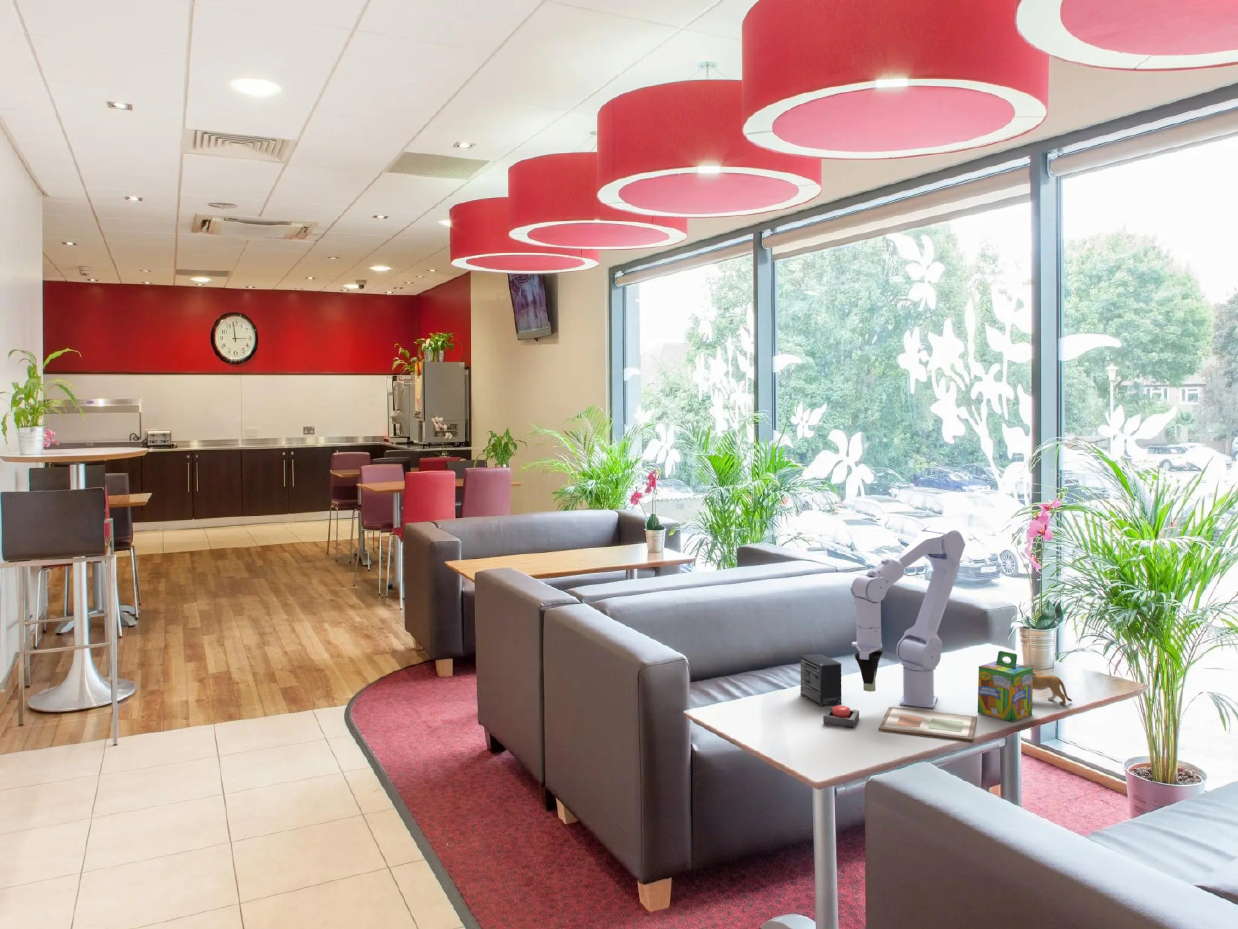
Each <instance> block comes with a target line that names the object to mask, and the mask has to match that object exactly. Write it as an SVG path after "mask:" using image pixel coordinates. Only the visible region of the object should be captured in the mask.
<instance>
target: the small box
mask: <svg viewBox="0 0 1238 929" xmlns="http://www.w3.org/2000/svg"><path fill="white" fill-rule="evenodd" d="M799 659H800V661H799V662H800V693H799V694H800V696H801V697H803V698H805V699H807V700H808V701H809V702H812V703H814V704H815V705H816V706H819V707H826V706H834V705H835V706H836V705H841V704H842V663H841V662H839V661H837V660H835V659H832V658H831V657H829V656H826V655H823V654H822V653H817V654H805V655H803V654H802V655H800V657H799Z"/></svg>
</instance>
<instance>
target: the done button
mask: <svg viewBox="0 0 1238 929" xmlns="http://www.w3.org/2000/svg"><path fill="white" fill-rule="evenodd" d="M832 708H833V716H836V717H845V718H849V717H850V710H851V708H850V707H849V706H847V705H846V706H845V705H835V706H834V705H833V707H832Z"/></svg>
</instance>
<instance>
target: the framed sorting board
mask: <svg viewBox="0 0 1238 929" xmlns="http://www.w3.org/2000/svg"><path fill="white" fill-rule="evenodd" d="M976 724H977V716H975V715H969V714H968V715H967V714H958V713H950V712H949V713H948V712H939V711H931V710H930V711H929V710H919V709H913V708H912V709H911V708H902V707H894V706H889V707H888V709H887V710H886V711H885V714H884V716H883V718H882V720H881V722H880V724H879V726H878V731H879V732H884V733H885V732H887V733H895V734H903V735H913V736H919V737H920V736H921V737H928V738H935V739H944V740H954V741H962V742H971V743H973V740H974V735H975V730H976Z"/></svg>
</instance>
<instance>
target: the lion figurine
mask: <svg viewBox="0 0 1238 929" xmlns="http://www.w3.org/2000/svg"><path fill="white" fill-rule="evenodd" d="M1060 686H1061V687H1060ZM1065 687H1066V686H1065V684H1064V682H1063V680H1062V679H1061V678H1060V677H1058V676H1057V675H1051V674H1049V675H1048V674H1047V675H1039V674H1036V673H1035V672H1033V690H1035V691H1044V690H1046V689H1049V688H1050V691H1051V694H1052V696H1051V697H1049V696H1048V698H1047V700H1048V701H1054V700H1055V699H1056V698H1057V697H1059V698H1060V700H1061V701H1059V705H1060V706H1065V705H1066V703H1067V701H1068V702H1073V700H1072V698H1069V697H1068V694H1067V691H1066V688H1065ZM1061 689H1062V690H1061ZM1066 700H1067V701H1066Z"/></svg>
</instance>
